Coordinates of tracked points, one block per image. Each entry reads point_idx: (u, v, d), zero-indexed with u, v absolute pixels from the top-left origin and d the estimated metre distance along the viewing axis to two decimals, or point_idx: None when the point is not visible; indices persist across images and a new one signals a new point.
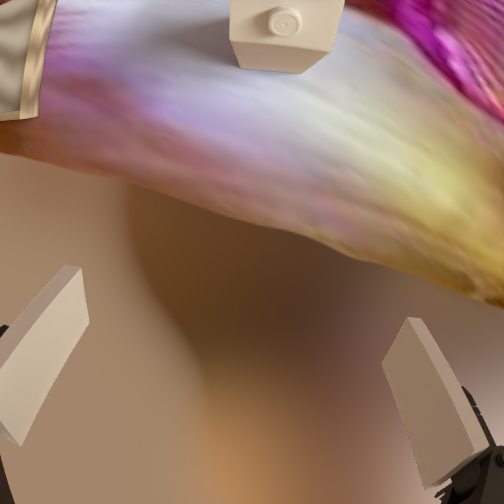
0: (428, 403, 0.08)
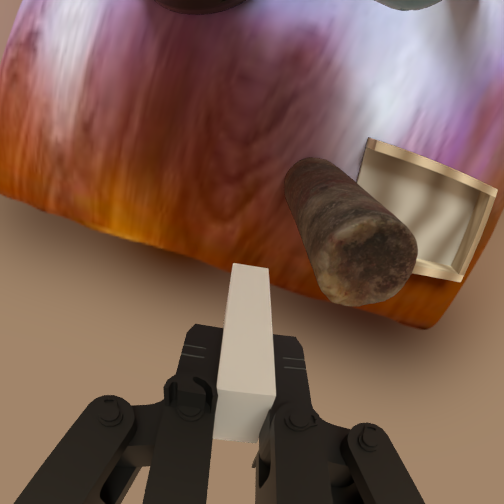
0: None
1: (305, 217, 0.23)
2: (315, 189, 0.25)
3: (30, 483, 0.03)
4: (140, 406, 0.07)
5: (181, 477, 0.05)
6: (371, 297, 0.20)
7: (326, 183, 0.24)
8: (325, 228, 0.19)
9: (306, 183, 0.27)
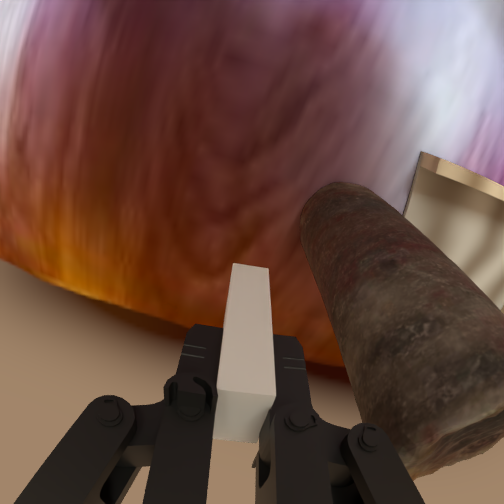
0: None
1: (355, 327, 0.11)
2: (369, 263, 0.13)
3: (30, 483, 0.03)
4: (140, 405, 0.07)
5: (181, 477, 0.05)
6: (453, 461, 0.08)
7: (389, 250, 0.12)
8: (415, 399, 0.07)
9: (347, 240, 0.15)
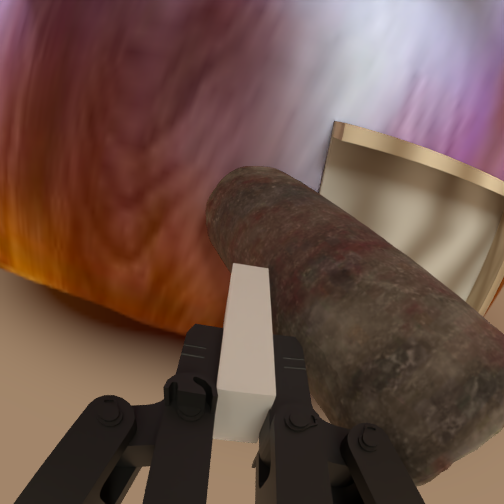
0: None
1: (318, 357, 0.10)
2: (316, 275, 0.11)
3: (30, 483, 0.03)
4: (140, 406, 0.07)
5: (181, 477, 0.05)
6: None
7: (336, 257, 0.11)
8: (417, 435, 0.06)
9: (277, 245, 0.13)
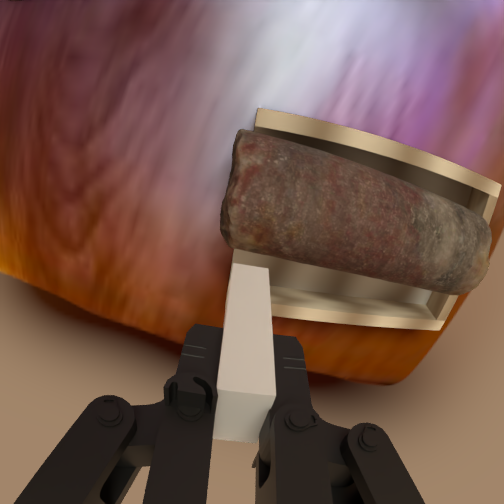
0: None
1: (443, 215, 0.17)
2: (410, 185, 0.18)
3: (30, 483, 0.03)
4: (141, 405, 0.07)
5: (181, 477, 0.05)
6: None
7: (403, 180, 0.19)
8: (479, 221, 0.18)
9: (377, 173, 0.17)
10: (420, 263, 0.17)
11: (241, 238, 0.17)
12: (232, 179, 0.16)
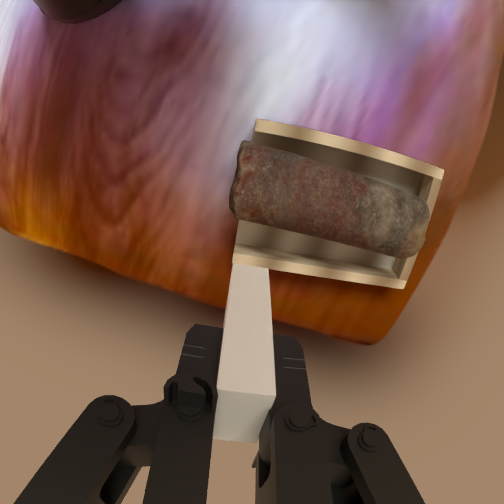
0: None
1: (384, 202, 0.26)
2: (361, 179, 0.27)
3: (29, 483, 0.03)
4: (140, 405, 0.07)
5: (181, 477, 0.05)
6: None
7: (358, 174, 0.27)
8: (419, 206, 0.27)
9: (335, 172, 0.26)
10: (363, 234, 0.27)
11: (242, 214, 0.27)
12: (236, 178, 0.25)
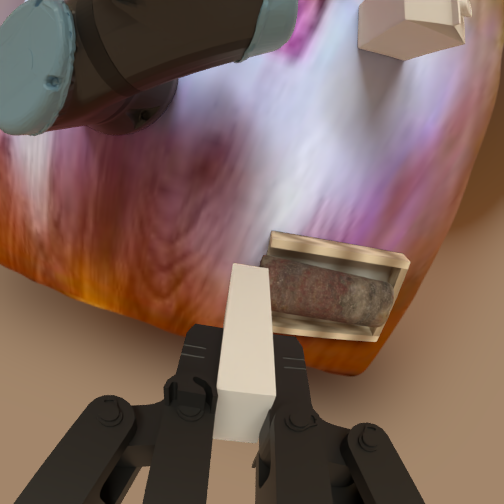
0: None
1: (359, 297, 0.39)
2: (344, 281, 0.40)
3: (30, 483, 0.03)
4: (140, 405, 0.07)
5: (181, 477, 0.05)
6: None
7: (342, 275, 0.41)
8: (386, 295, 0.40)
9: (326, 278, 0.40)
10: (343, 318, 0.40)
11: None
12: None
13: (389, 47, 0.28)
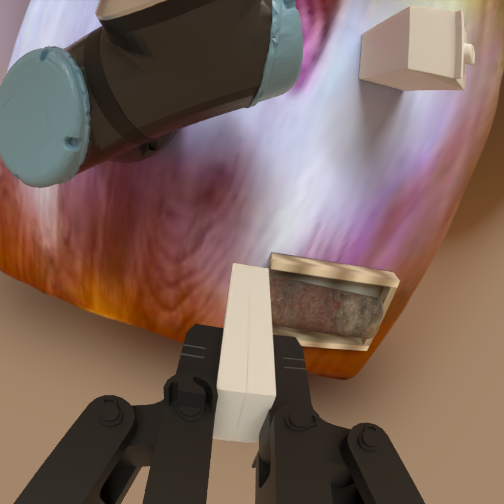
0: None
1: (351, 312, 0.43)
2: (338, 297, 0.44)
3: (30, 483, 0.03)
4: (140, 405, 0.07)
5: (181, 477, 0.05)
6: None
7: (336, 292, 0.45)
8: (376, 310, 0.44)
9: (321, 295, 0.43)
10: (337, 331, 0.44)
11: None
12: None
13: (390, 81, 0.31)
